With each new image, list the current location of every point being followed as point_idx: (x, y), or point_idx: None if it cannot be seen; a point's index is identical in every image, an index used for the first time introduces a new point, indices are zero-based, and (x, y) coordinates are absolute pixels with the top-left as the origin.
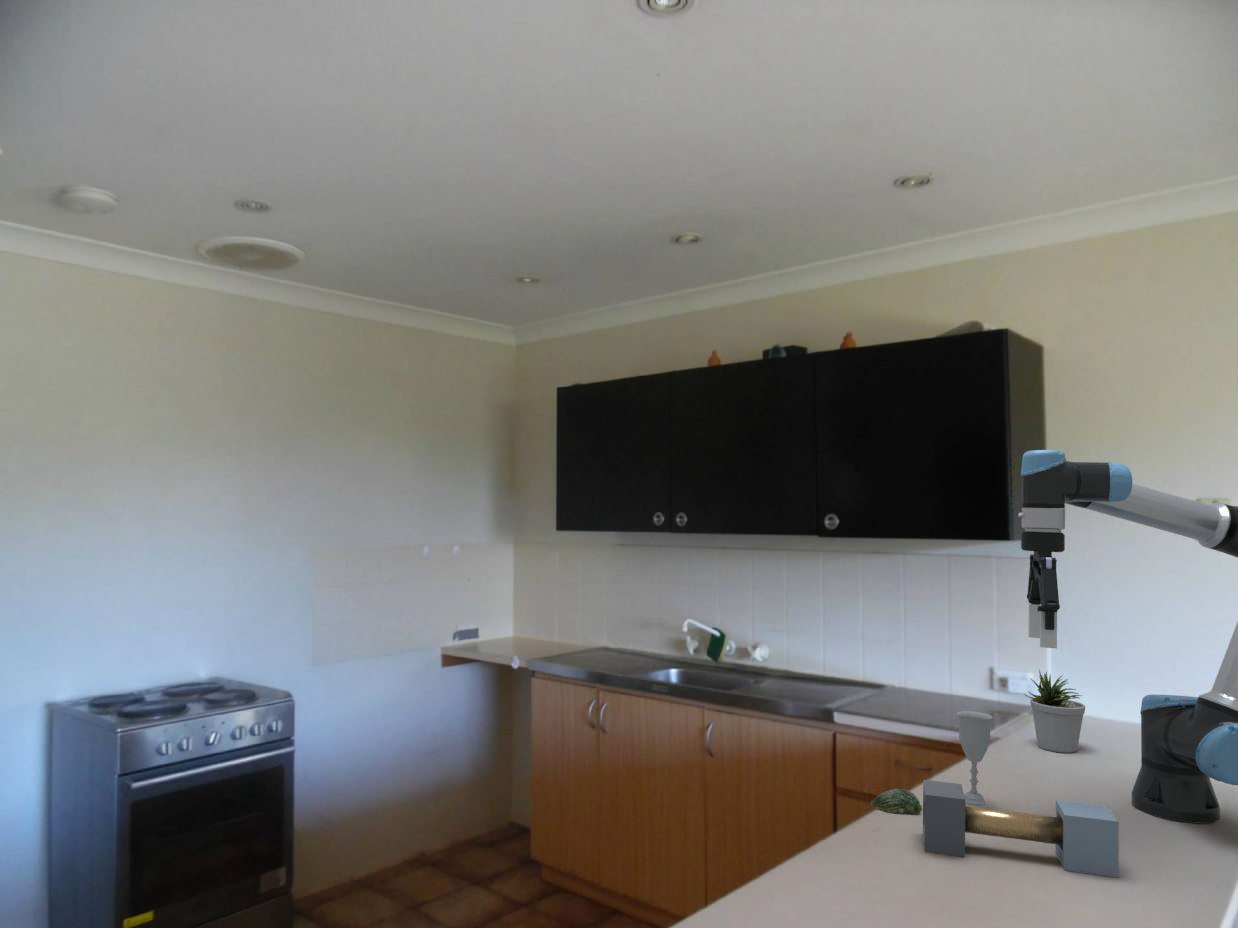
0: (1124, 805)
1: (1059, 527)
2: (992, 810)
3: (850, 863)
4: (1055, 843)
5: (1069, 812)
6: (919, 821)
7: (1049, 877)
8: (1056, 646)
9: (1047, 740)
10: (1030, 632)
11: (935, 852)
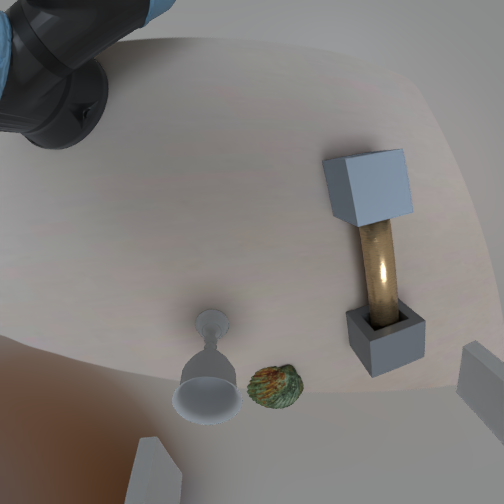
0: (77, 154)
1: None
2: (391, 292)
3: (438, 361)
4: None
5: (400, 207)
6: (313, 358)
7: (406, 217)
8: (478, 344)
9: None
10: (178, 487)
11: None
